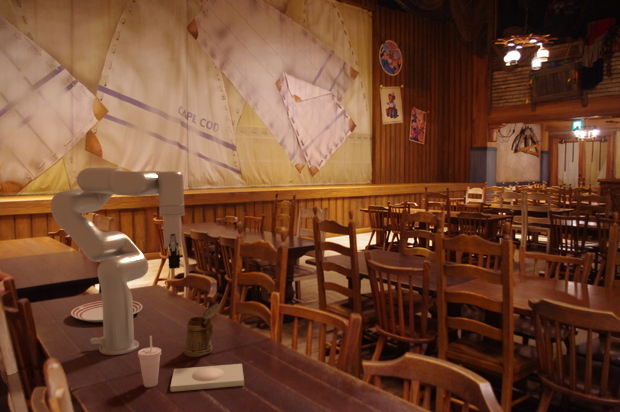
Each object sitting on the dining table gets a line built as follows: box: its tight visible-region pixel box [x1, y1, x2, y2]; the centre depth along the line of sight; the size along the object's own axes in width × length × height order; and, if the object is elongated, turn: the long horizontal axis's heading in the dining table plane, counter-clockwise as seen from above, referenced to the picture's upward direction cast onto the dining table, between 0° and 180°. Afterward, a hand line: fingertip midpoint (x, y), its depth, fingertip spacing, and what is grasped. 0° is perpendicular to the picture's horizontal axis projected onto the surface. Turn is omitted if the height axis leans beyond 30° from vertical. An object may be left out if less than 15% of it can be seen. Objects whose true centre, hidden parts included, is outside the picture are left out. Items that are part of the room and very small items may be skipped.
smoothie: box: [137, 335, 162, 388], centre depth 143 cm, size 6×6×14 cm
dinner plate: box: [70, 300, 143, 323], centre depth 209 cm, size 27×27×3 cm
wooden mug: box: [183, 302, 220, 358], centre depth 166 cm, size 9×14×18 cm, turn 55°
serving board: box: [170, 363, 245, 392], centre depth 146 cm, size 20×12×2 cm, turn 100°
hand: (174, 265), depth 159 cm, fingers open, 9 cm apart
